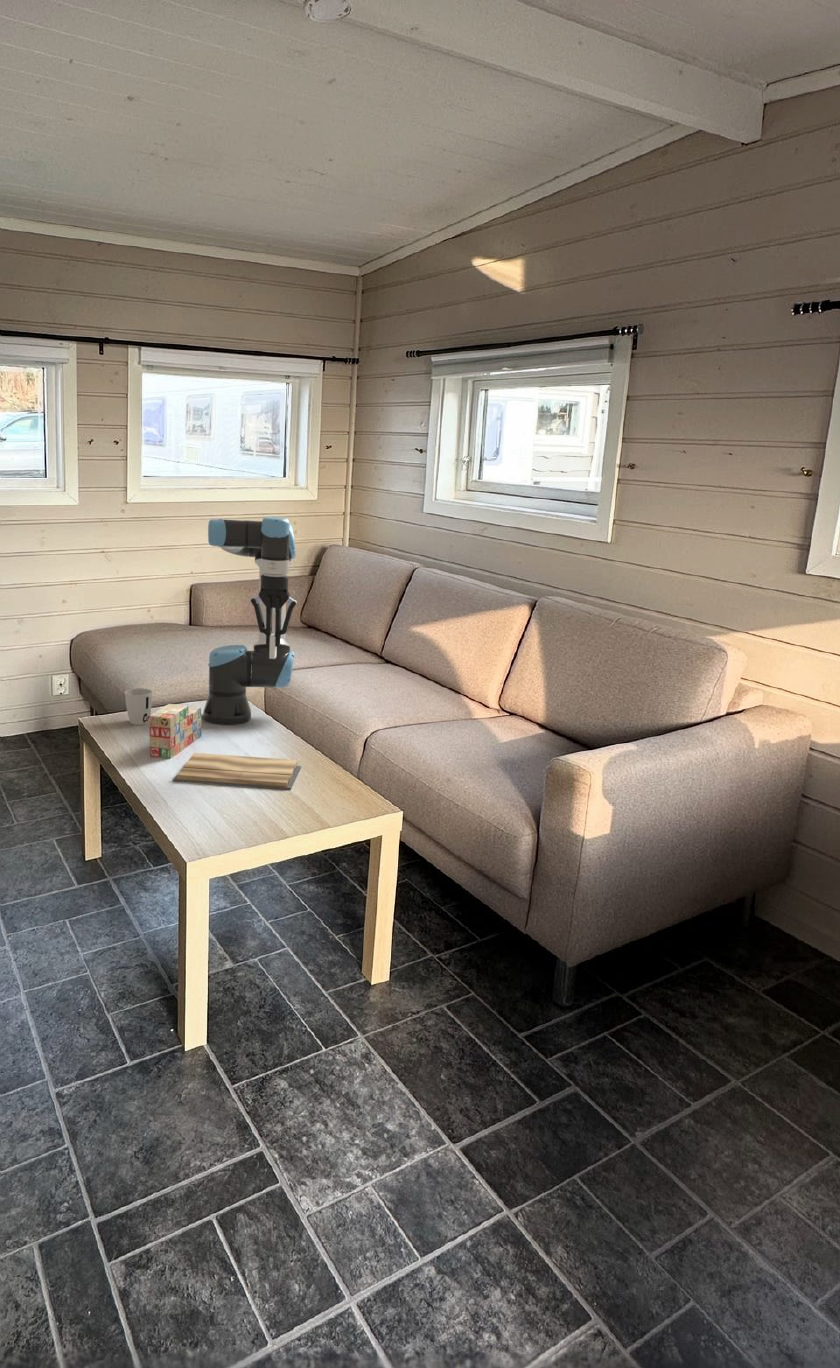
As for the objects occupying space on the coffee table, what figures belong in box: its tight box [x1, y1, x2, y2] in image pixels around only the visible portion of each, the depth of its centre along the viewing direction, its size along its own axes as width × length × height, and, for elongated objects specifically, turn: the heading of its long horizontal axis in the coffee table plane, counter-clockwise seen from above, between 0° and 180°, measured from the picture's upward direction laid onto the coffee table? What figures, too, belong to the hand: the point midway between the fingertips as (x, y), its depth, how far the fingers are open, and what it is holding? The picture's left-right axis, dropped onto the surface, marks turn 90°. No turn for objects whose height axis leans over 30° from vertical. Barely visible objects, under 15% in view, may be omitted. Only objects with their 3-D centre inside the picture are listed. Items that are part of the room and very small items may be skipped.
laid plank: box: [176, 767, 291, 787], centre depth 240 cm, size 6×29×1 cm, turn 88°
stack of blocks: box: [149, 703, 202, 760], centre depth 263 cm, size 21×6×12 cm, turn 170°
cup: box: [124, 687, 153, 726], centre depth 282 cm, size 8×8×10 cm
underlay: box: [172, 764, 302, 791], centre depth 245 cm, size 17×31×1 cm, turn 88°
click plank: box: [183, 752, 298, 778], centre depth 248 cm, size 10×29×1 cm, turn 88°
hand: (272, 657), depth 257 cm, fingers closed
